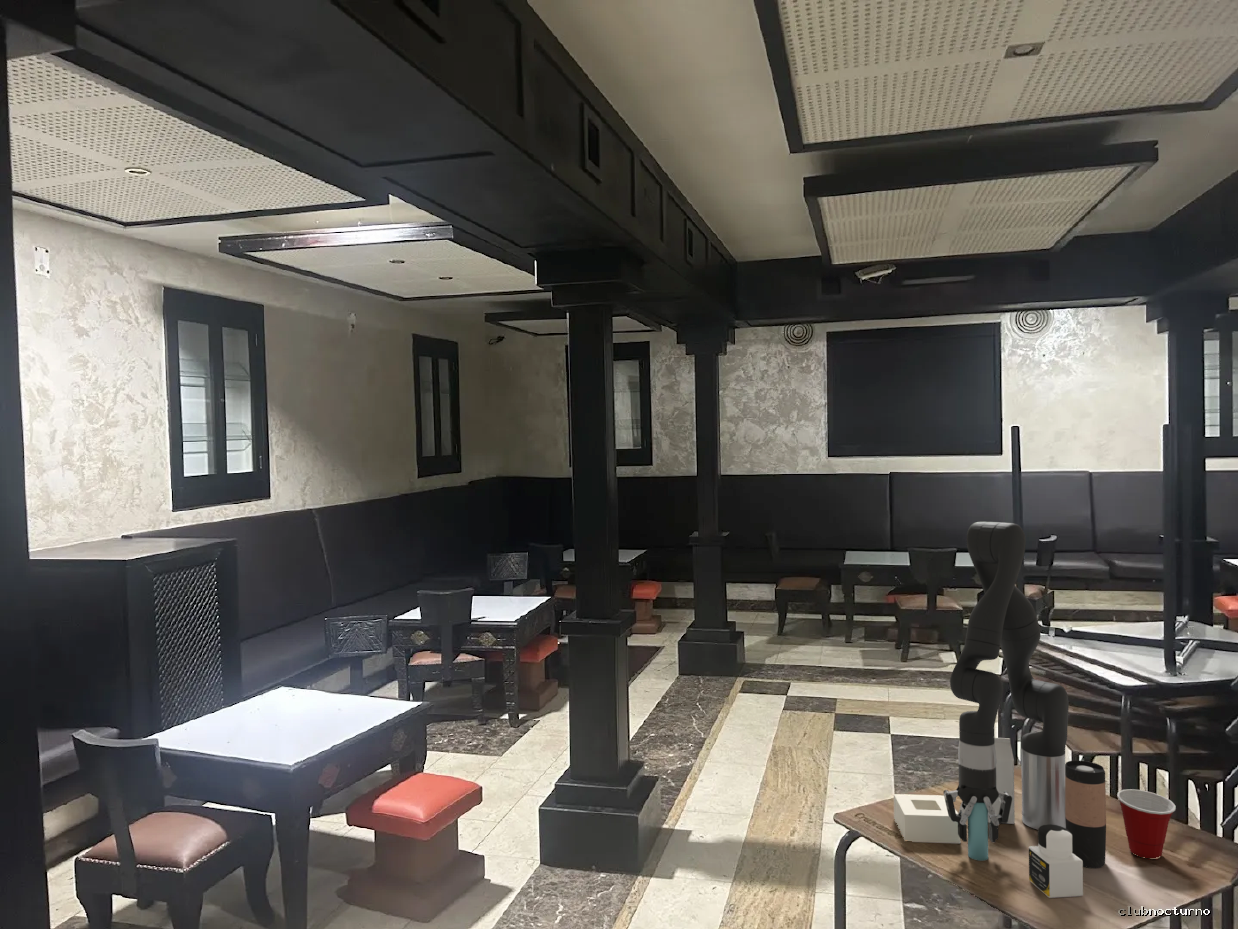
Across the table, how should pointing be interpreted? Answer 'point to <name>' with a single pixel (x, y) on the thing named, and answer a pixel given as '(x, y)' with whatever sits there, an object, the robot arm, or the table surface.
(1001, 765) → the milk carton
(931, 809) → the socket block
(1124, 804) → the plastic cup
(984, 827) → the peg
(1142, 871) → the table surface
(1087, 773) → the travel mug
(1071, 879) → the medicine bottle
